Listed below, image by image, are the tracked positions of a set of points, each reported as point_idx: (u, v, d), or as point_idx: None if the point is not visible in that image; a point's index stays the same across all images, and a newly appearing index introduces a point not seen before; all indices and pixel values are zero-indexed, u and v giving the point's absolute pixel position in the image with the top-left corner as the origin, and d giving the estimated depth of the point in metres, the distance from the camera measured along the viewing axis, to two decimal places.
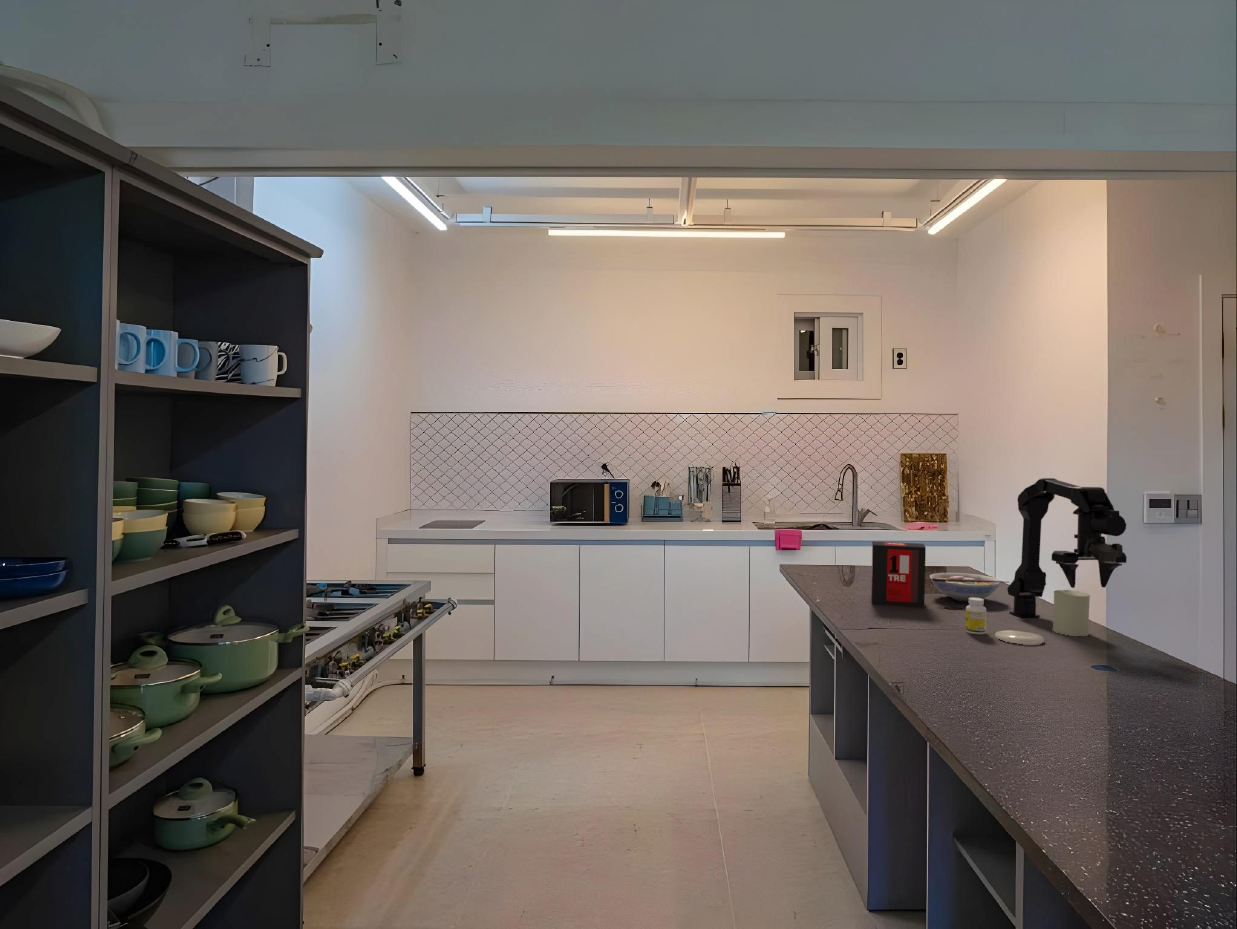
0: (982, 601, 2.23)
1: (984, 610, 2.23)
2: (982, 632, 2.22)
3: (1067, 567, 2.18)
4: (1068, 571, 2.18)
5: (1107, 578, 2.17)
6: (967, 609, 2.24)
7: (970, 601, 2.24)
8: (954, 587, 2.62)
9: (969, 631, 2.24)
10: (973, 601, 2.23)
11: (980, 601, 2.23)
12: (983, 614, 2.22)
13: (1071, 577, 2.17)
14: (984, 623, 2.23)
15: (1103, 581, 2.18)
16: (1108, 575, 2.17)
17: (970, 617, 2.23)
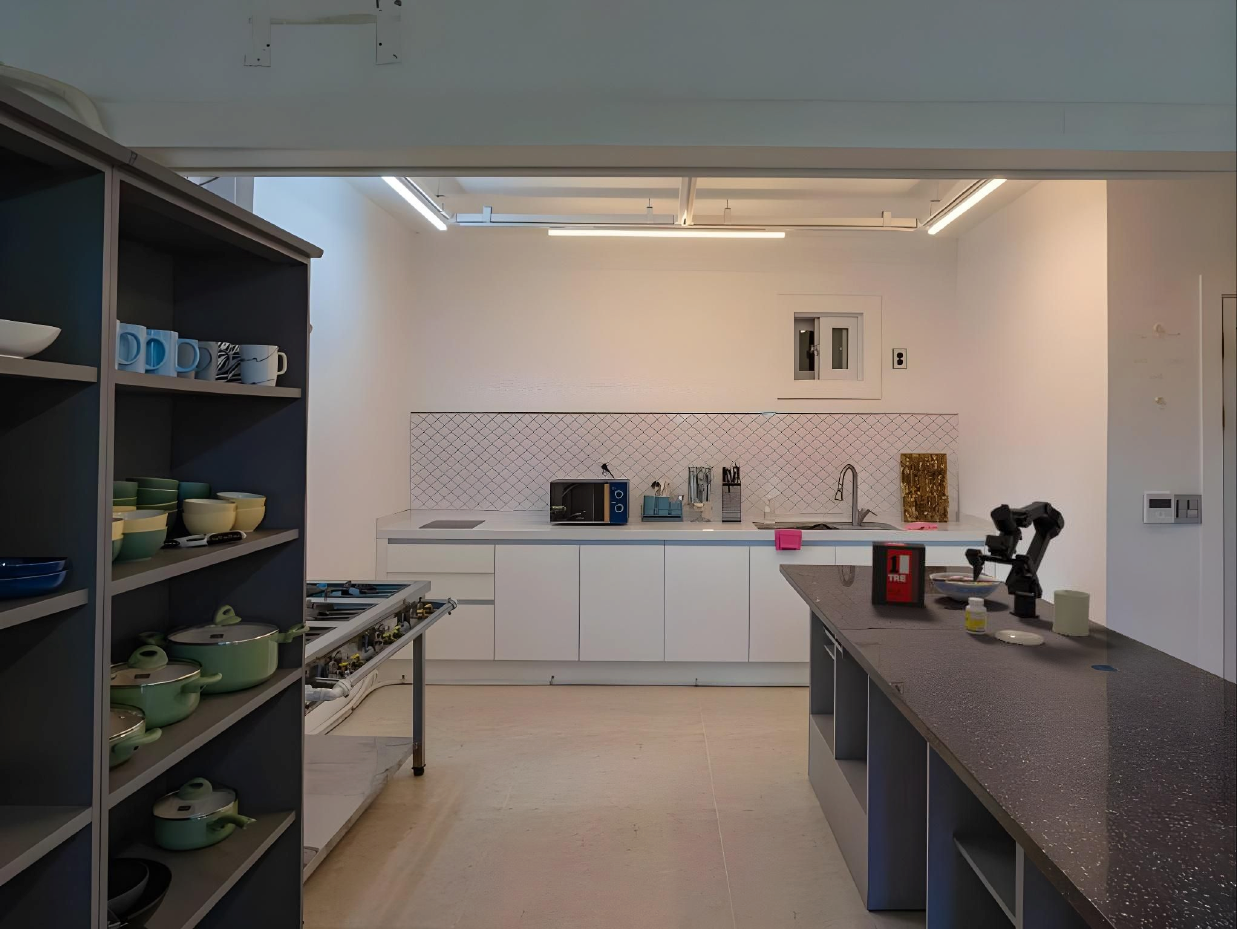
0: (982, 601, 2.23)
1: (984, 610, 2.23)
2: (982, 632, 2.22)
3: None
4: None
5: (1009, 575, 2.26)
6: (967, 609, 2.24)
7: (970, 601, 2.24)
8: (954, 587, 2.62)
9: (969, 631, 2.24)
10: (973, 601, 2.23)
11: (980, 601, 2.23)
12: (983, 614, 2.22)
13: None
14: (984, 623, 2.23)
15: None
16: (1010, 573, 2.27)
17: (970, 617, 2.23)
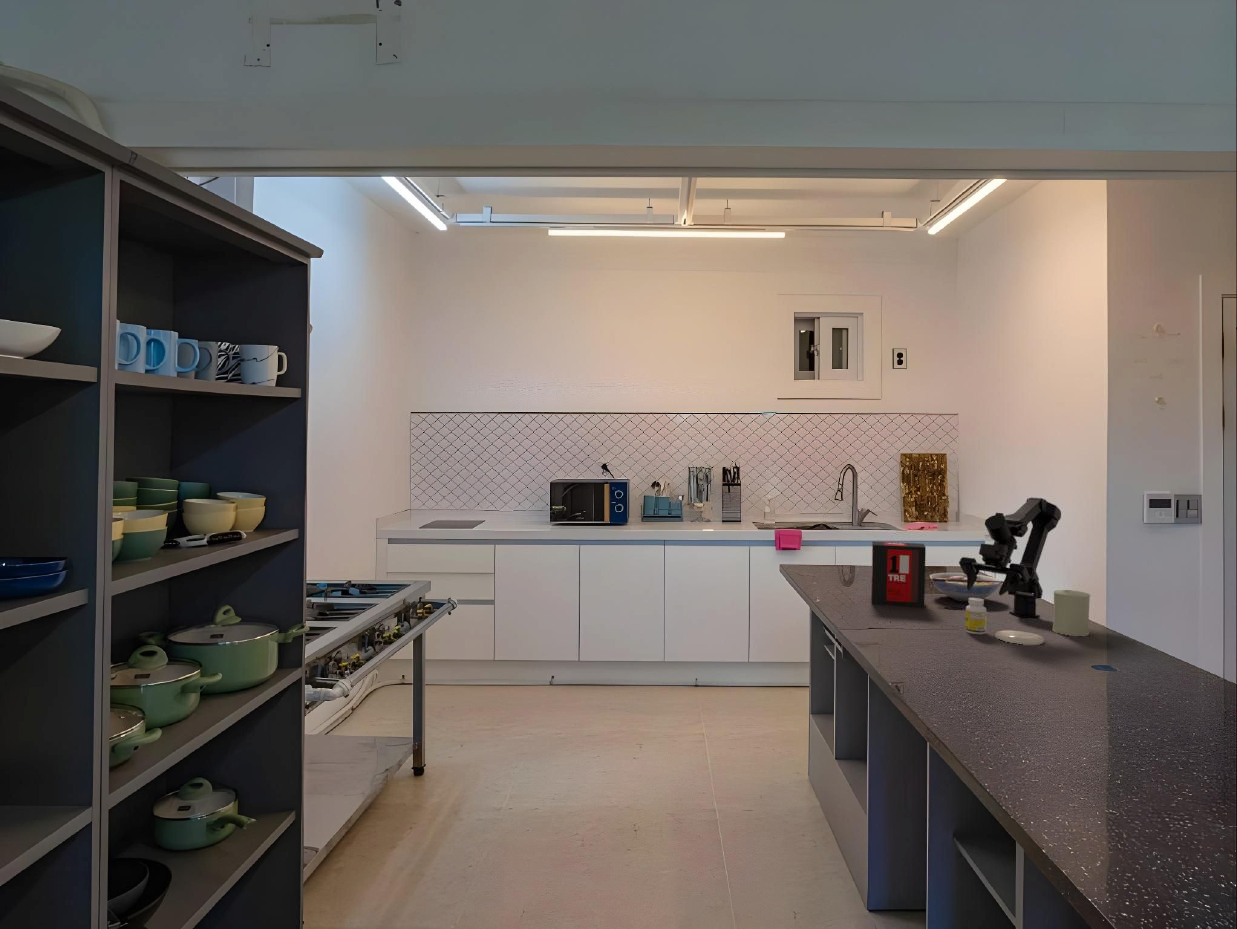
0: (982, 601, 2.23)
1: (984, 610, 2.23)
2: (982, 632, 2.22)
3: None
4: None
5: (1003, 585, 2.24)
6: (967, 609, 2.24)
7: (970, 601, 2.24)
8: (954, 587, 2.62)
9: (969, 631, 2.24)
10: (973, 601, 2.23)
11: (980, 601, 2.23)
12: (983, 614, 2.22)
13: None
14: (984, 623, 2.23)
15: None
16: (1004, 582, 2.25)
17: (970, 617, 2.23)
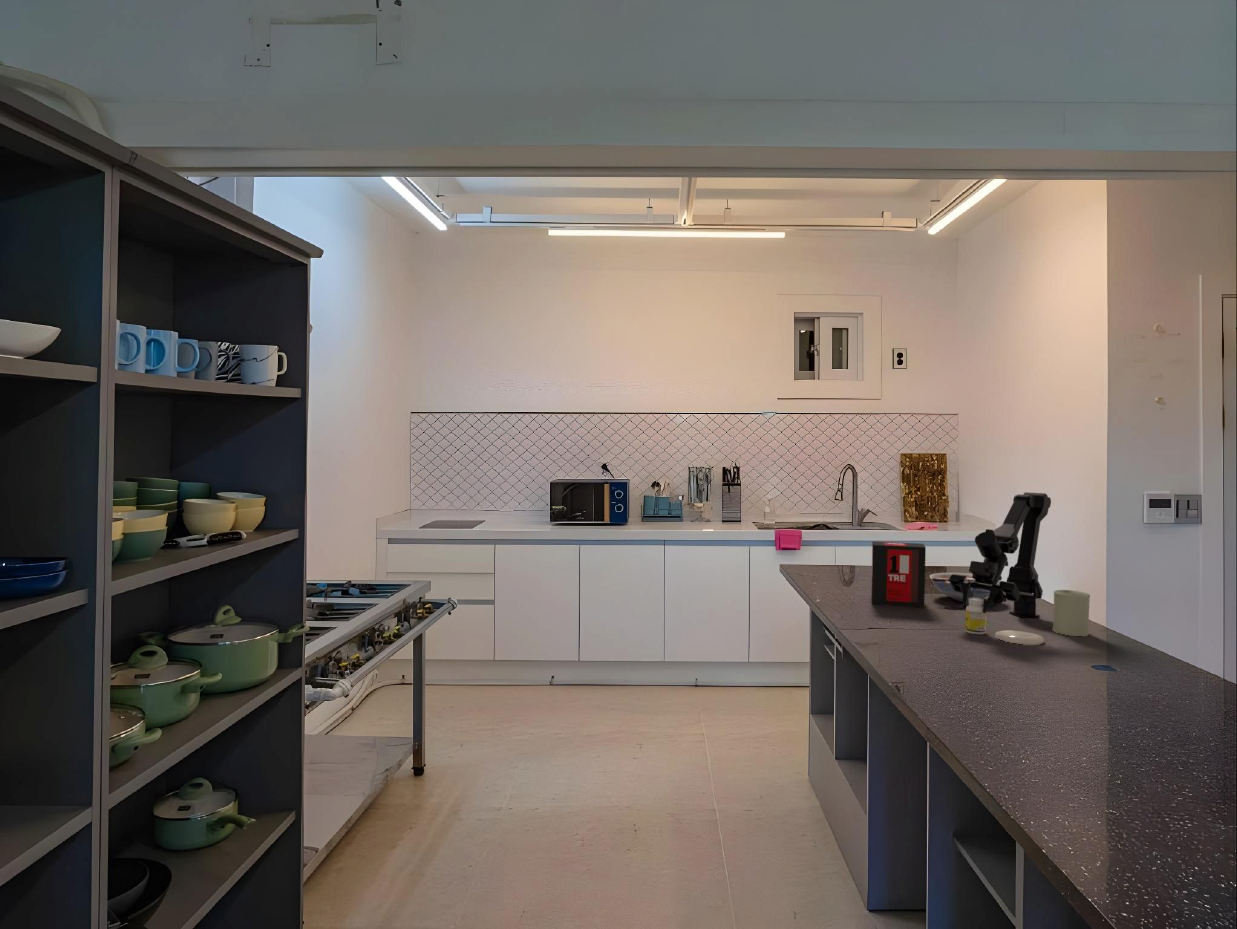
0: (982, 601, 2.23)
1: None
2: (982, 632, 2.22)
3: None
4: None
5: (987, 602, 2.22)
6: (967, 609, 2.24)
7: (970, 601, 2.24)
8: None
9: (969, 631, 2.24)
10: (973, 601, 2.23)
11: (980, 601, 2.23)
12: (983, 614, 2.22)
13: (963, 598, 2.28)
14: (984, 623, 2.23)
15: None
16: (988, 600, 2.22)
17: (970, 617, 2.23)
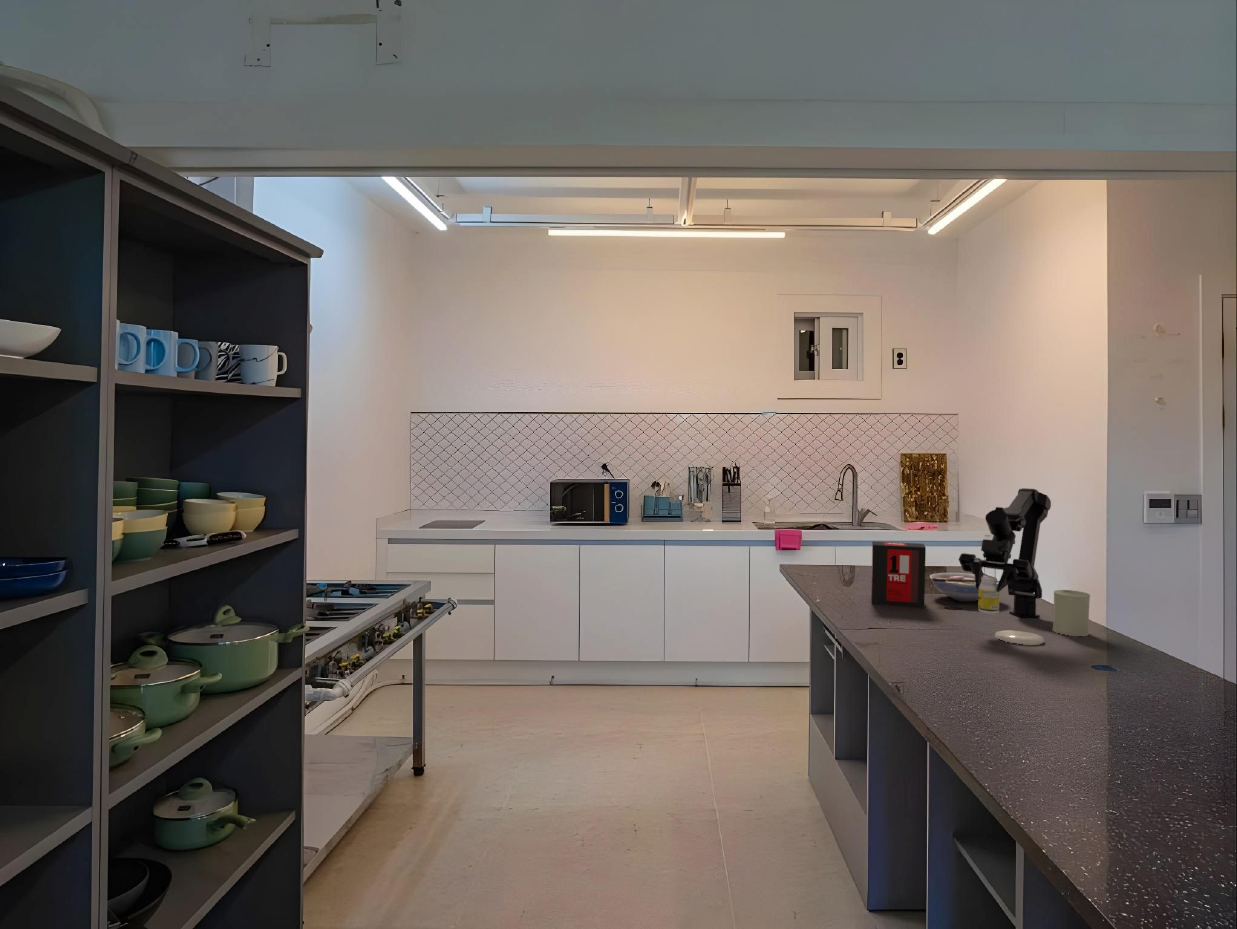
0: (995, 580, 2.20)
1: None
2: (996, 611, 2.20)
3: None
4: None
5: (1000, 581, 2.20)
6: (980, 588, 2.21)
7: (983, 580, 2.21)
8: (954, 587, 2.62)
9: (983, 610, 2.21)
10: (987, 580, 2.20)
11: (994, 580, 2.20)
12: (997, 593, 2.20)
13: (975, 577, 2.25)
14: (998, 602, 2.20)
15: None
16: (1002, 578, 2.20)
17: (984, 596, 2.20)
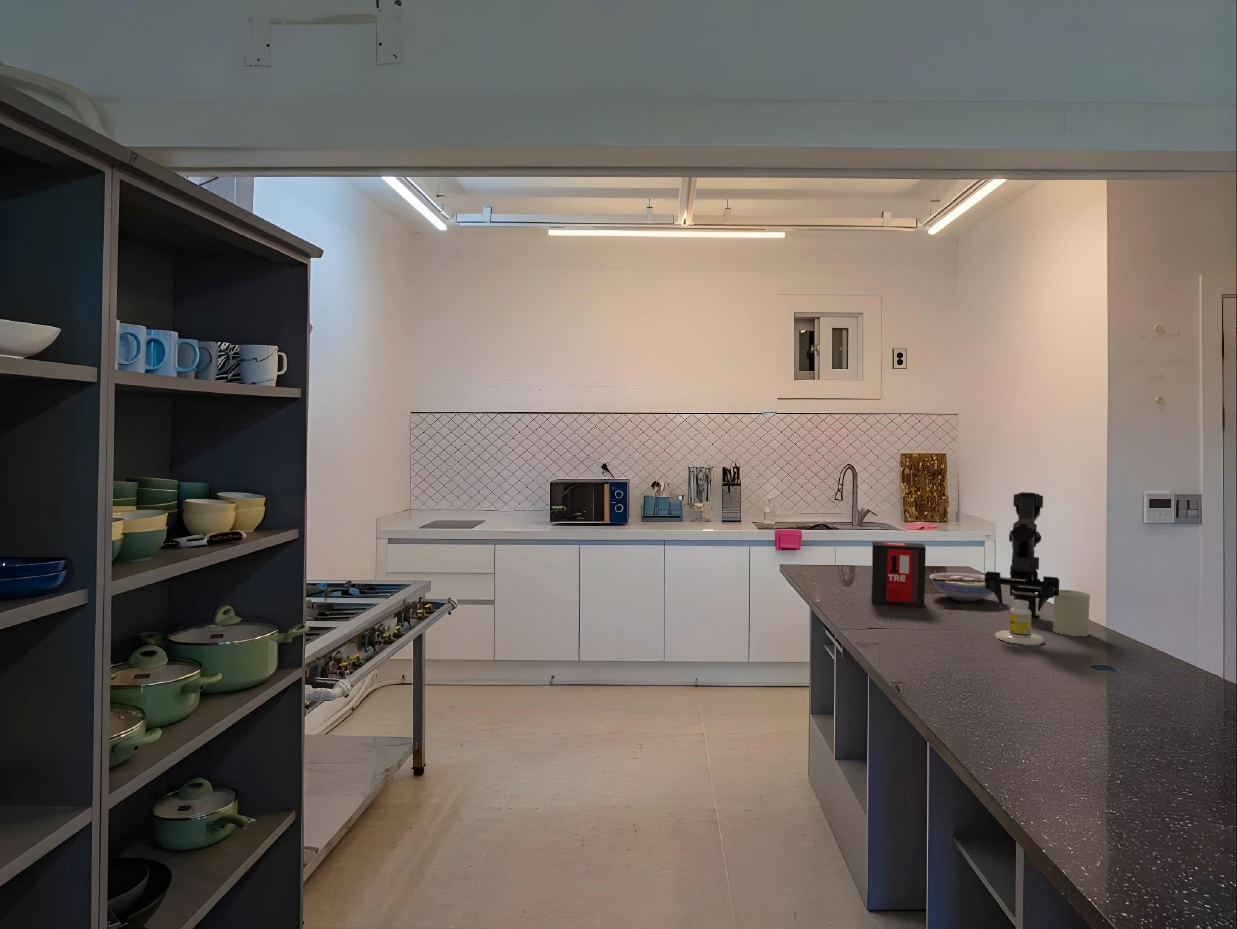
0: (1028, 603, 2.16)
1: None
2: (1029, 635, 2.15)
3: None
4: None
5: (1040, 600, 2.14)
6: (1014, 612, 2.16)
7: (1017, 604, 2.16)
8: (954, 587, 2.62)
9: (1016, 635, 2.16)
10: (1021, 604, 2.15)
11: (1027, 603, 2.15)
12: (1030, 616, 2.15)
13: (997, 595, 2.20)
14: (1030, 626, 2.16)
15: (1038, 604, 2.15)
16: (1041, 597, 2.15)
17: (1018, 620, 2.15)
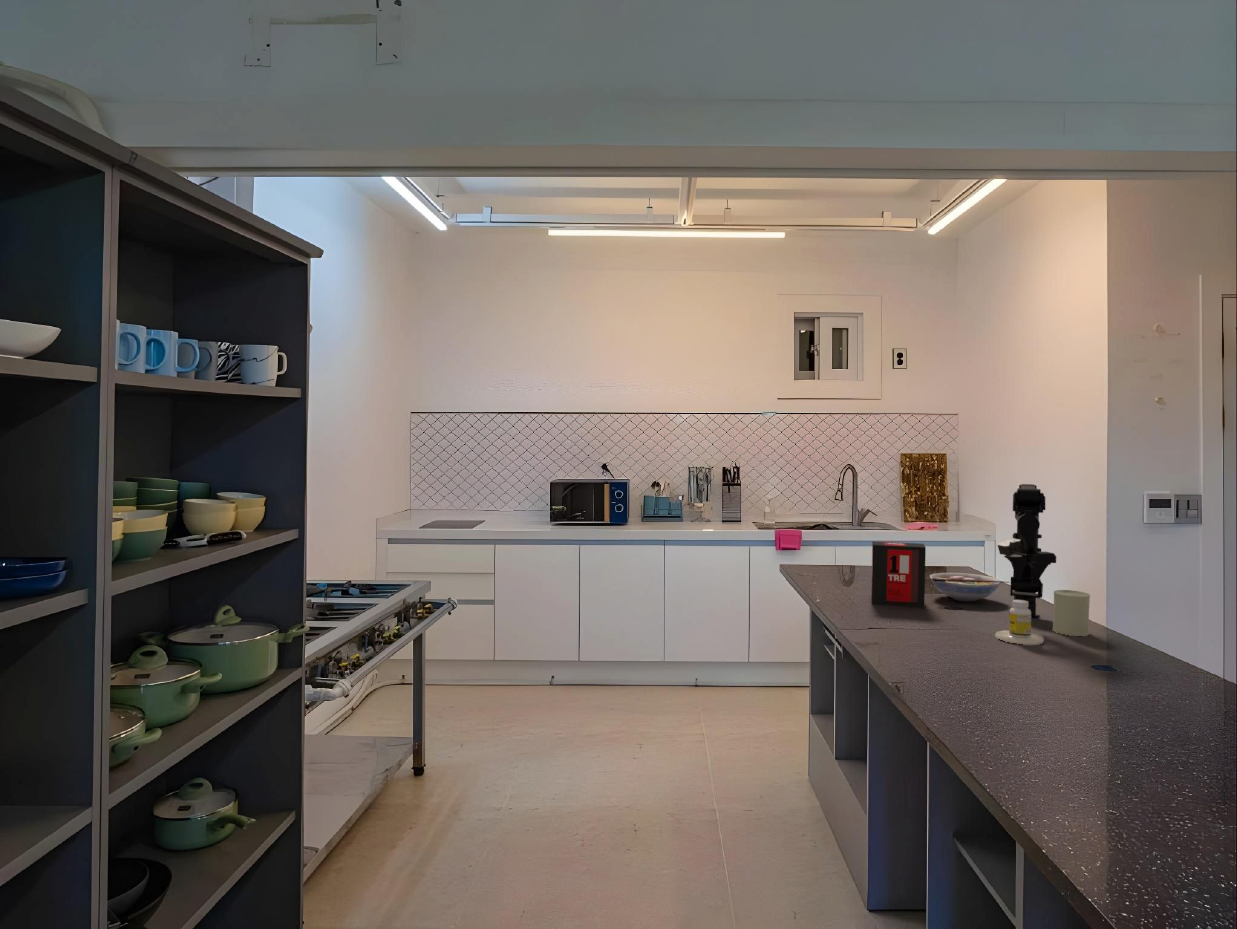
0: (1028, 603, 2.16)
1: (1030, 612, 2.16)
2: (1029, 635, 2.15)
3: None
4: None
5: (1031, 575, 2.29)
6: (1014, 612, 2.16)
7: (1016, 604, 2.16)
8: (954, 587, 2.62)
9: (1016, 635, 2.16)
10: (1020, 604, 2.15)
11: (1027, 603, 2.16)
12: (1030, 616, 2.15)
13: None
14: (1030, 626, 2.16)
15: None
16: (1031, 573, 2.29)
17: (1018, 620, 2.15)
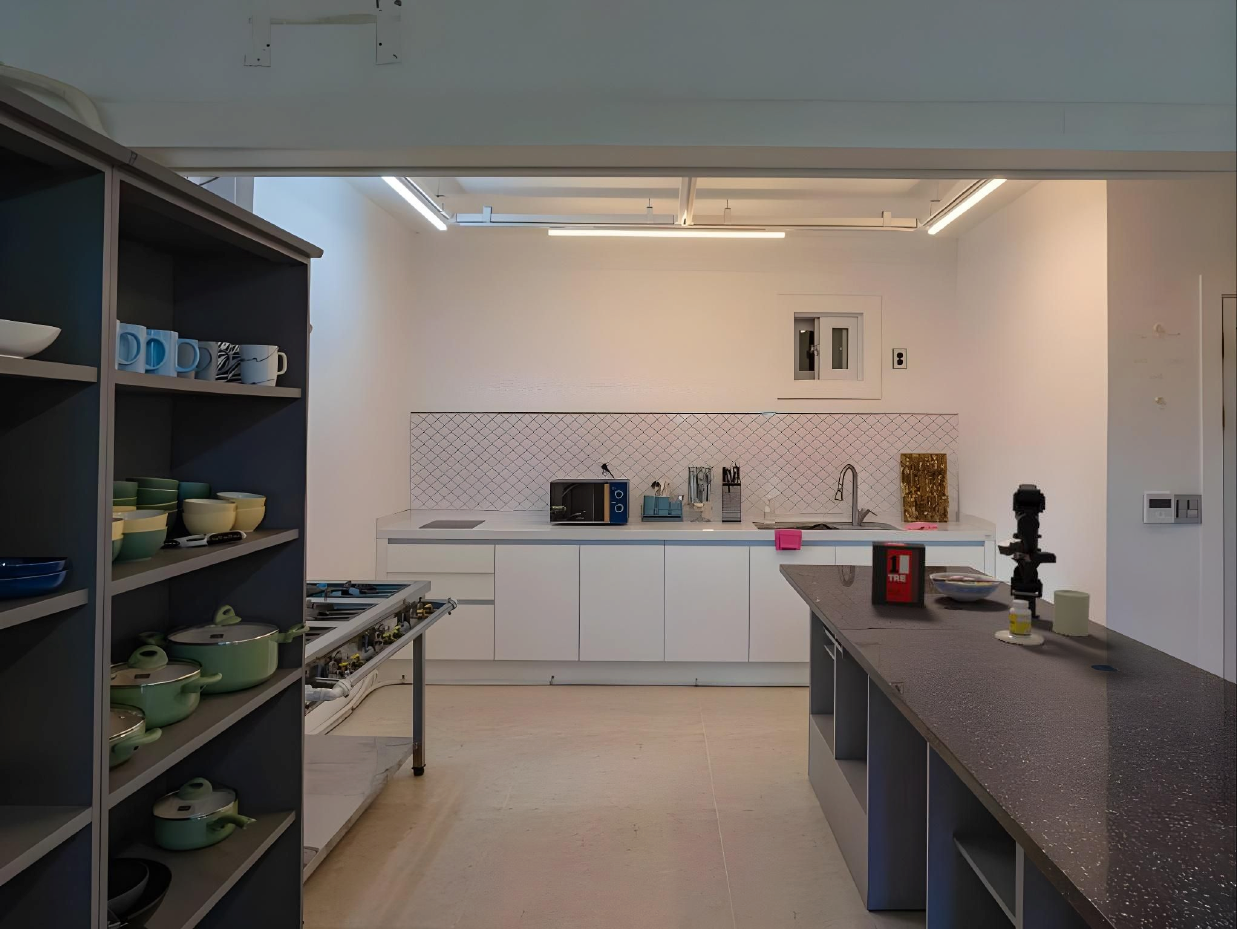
0: (1028, 603, 2.16)
1: (1030, 612, 2.16)
2: (1029, 635, 2.15)
3: None
4: None
5: (1024, 573, 2.32)
6: (1014, 612, 2.16)
7: (1017, 604, 2.16)
8: (954, 587, 2.62)
9: (1016, 635, 2.16)
10: (1020, 604, 2.15)
11: (1027, 603, 2.15)
12: (1030, 616, 2.15)
13: None
14: (1030, 626, 2.16)
15: None
16: (1024, 571, 2.32)
17: (1018, 620, 2.15)
